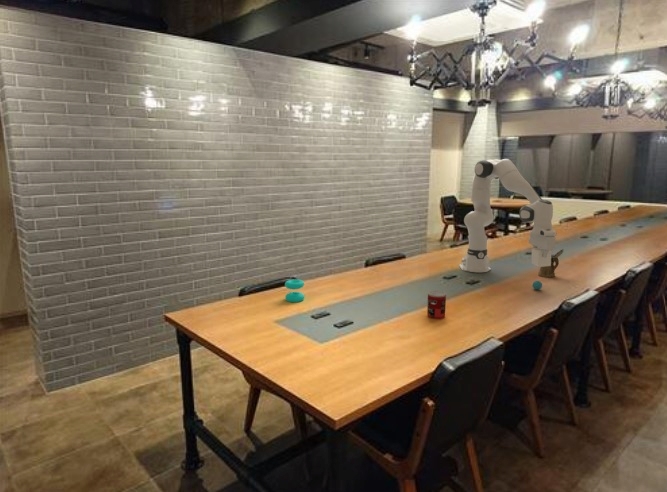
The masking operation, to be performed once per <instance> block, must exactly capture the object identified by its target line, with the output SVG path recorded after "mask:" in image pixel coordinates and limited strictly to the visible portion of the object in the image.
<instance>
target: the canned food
mask: <svg viewBox="0 0 667 492" xmlns="http://www.w3.org/2000/svg"><path fill="white" fill-rule="evenodd" d="M446 301H447V293H446V292H444V291H438V290H432V291H428V293H427V310H426V312H427V317H428V318H430V319H434V320H440V319H441V320H442V319H444V318H445V316H446V307H447V306H446V304H447V303H446Z"/></svg>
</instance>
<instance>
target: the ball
mask: <svg viewBox="0 0 667 492" xmlns="http://www.w3.org/2000/svg"><path fill="white" fill-rule="evenodd" d="M531 286H532V288H533V289H534V290H537V291H538V290H541V289H542V287H543V283H542V282H541V281H540V280H534V281H533V282H532V285H531Z"/></svg>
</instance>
